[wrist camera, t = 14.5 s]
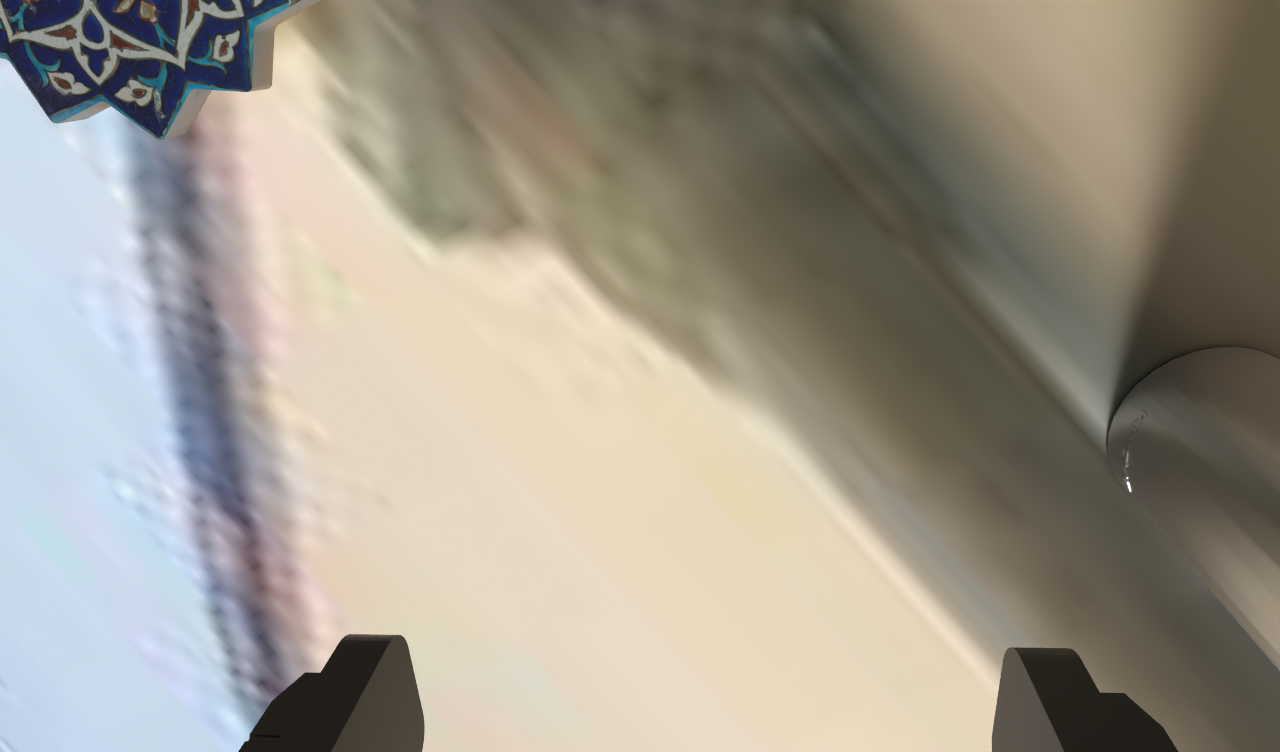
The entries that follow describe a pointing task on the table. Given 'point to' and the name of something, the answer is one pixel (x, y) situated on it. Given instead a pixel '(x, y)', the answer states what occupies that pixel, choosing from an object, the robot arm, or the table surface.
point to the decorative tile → (141, 54)
